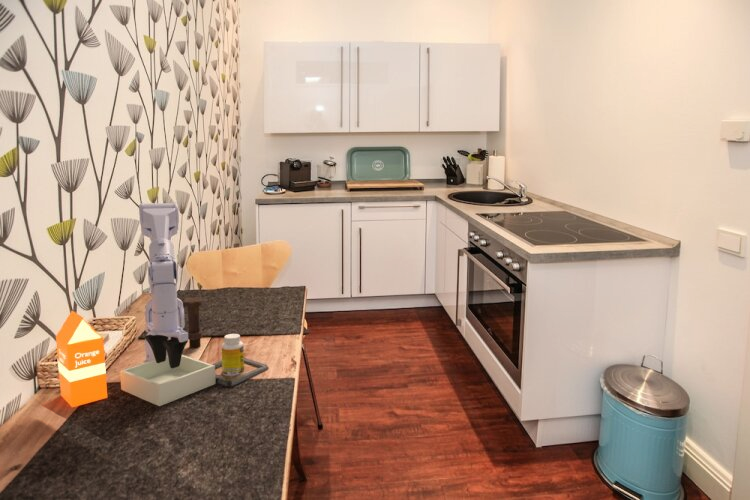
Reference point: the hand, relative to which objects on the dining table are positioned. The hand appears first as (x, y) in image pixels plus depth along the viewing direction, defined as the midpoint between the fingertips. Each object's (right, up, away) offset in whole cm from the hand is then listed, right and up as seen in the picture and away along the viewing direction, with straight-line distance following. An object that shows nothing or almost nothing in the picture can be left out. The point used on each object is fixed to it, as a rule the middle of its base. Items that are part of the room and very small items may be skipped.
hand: (167, 364), depth 130 cm
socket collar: (+13, -4, +10) cm, 17 cm away
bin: (0, -6, +1) cm, 6 cm away
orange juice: (-18, -7, -5) cm, 20 cm away
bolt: (-3, -2, +28) cm, 28 cm away
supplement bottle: (+13, -5, +10) cm, 17 cm away
